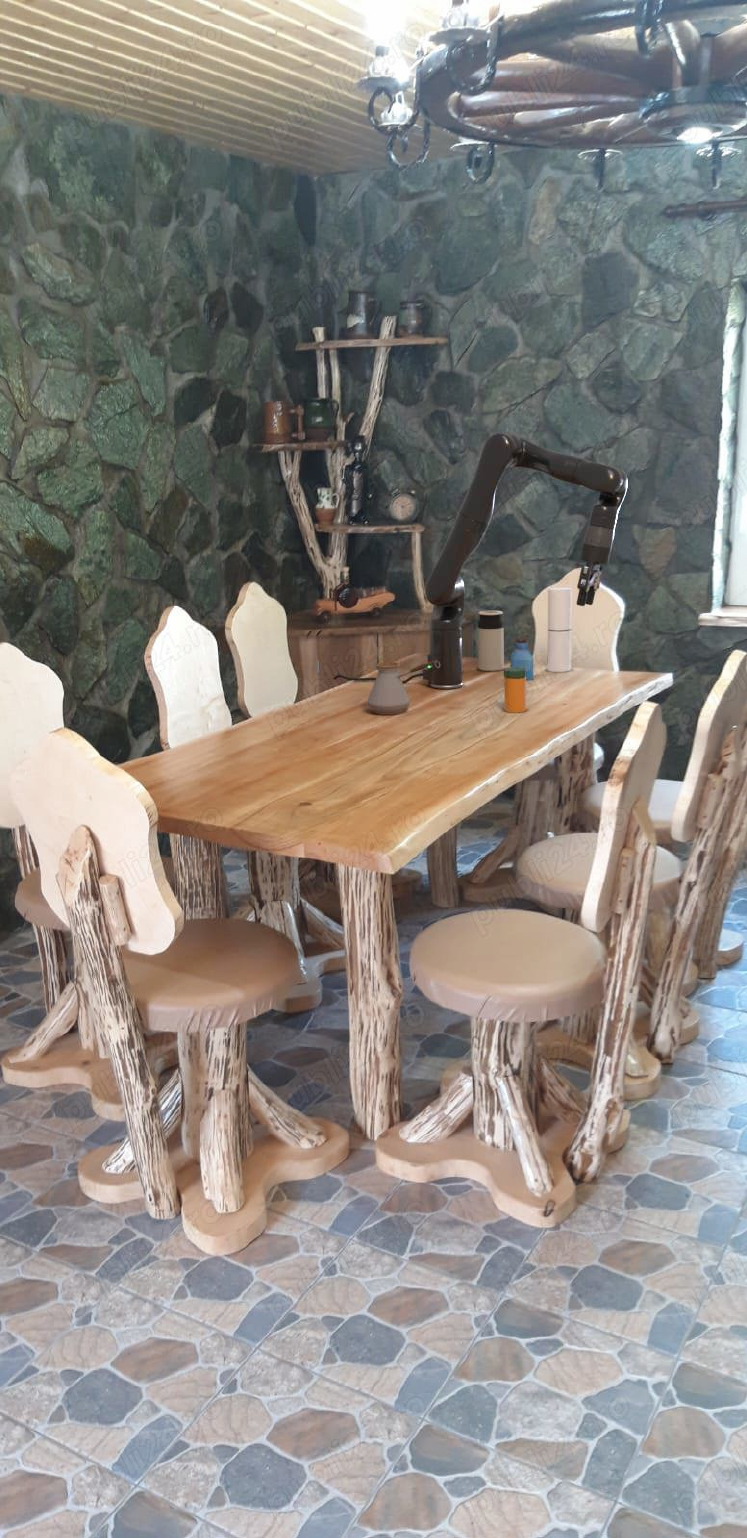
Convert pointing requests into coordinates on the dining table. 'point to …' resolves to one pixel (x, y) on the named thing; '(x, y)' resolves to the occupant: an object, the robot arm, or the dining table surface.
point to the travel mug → (490, 641)
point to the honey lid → (515, 672)
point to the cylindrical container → (559, 629)
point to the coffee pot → (391, 689)
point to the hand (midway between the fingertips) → (584, 604)
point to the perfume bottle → (522, 657)
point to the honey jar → (515, 694)
